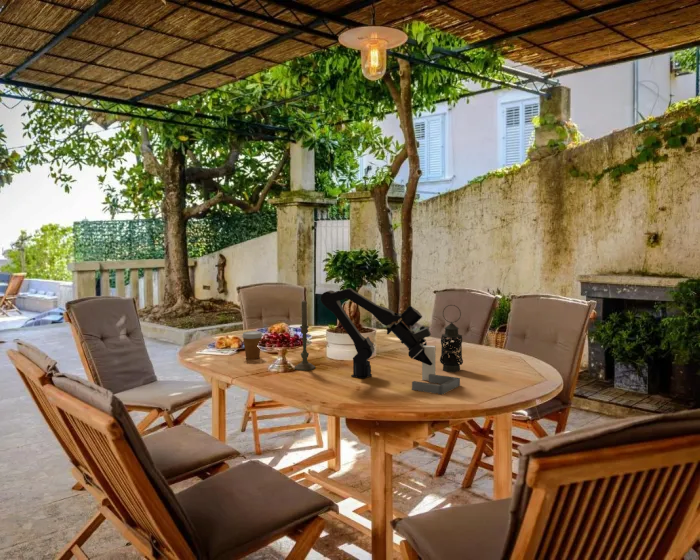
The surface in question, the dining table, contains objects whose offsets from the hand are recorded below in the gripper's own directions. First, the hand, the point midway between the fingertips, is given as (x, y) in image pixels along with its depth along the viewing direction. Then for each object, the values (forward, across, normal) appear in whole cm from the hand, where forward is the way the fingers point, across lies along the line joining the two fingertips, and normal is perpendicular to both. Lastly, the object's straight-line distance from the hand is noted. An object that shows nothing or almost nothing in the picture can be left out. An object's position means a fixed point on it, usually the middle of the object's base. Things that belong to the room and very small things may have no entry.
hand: (432, 362), depth 238 cm
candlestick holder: (-35, +11, +44) cm, 57 cm away
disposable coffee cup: (-56, +28, +66) cm, 91 cm away
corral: (+6, -13, +4) cm, 15 cm away
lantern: (+10, +17, 0) cm, 20 cm away
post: (+4, 0, +6) cm, 7 cm away
